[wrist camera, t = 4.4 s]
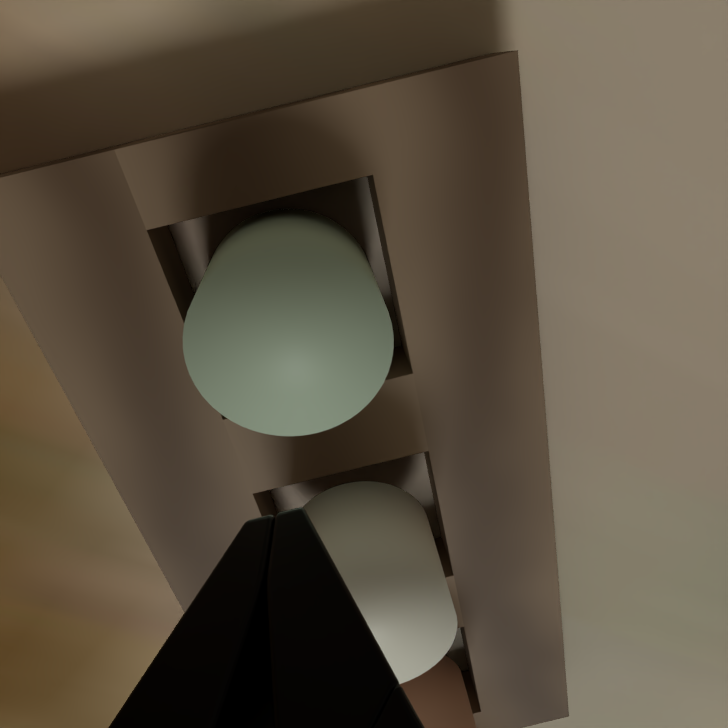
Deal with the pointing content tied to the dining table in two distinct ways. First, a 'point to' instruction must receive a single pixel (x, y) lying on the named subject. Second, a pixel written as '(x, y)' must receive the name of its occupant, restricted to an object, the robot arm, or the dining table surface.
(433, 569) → the button cream
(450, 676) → the button terracotta
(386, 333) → the button sage
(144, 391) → the button board
